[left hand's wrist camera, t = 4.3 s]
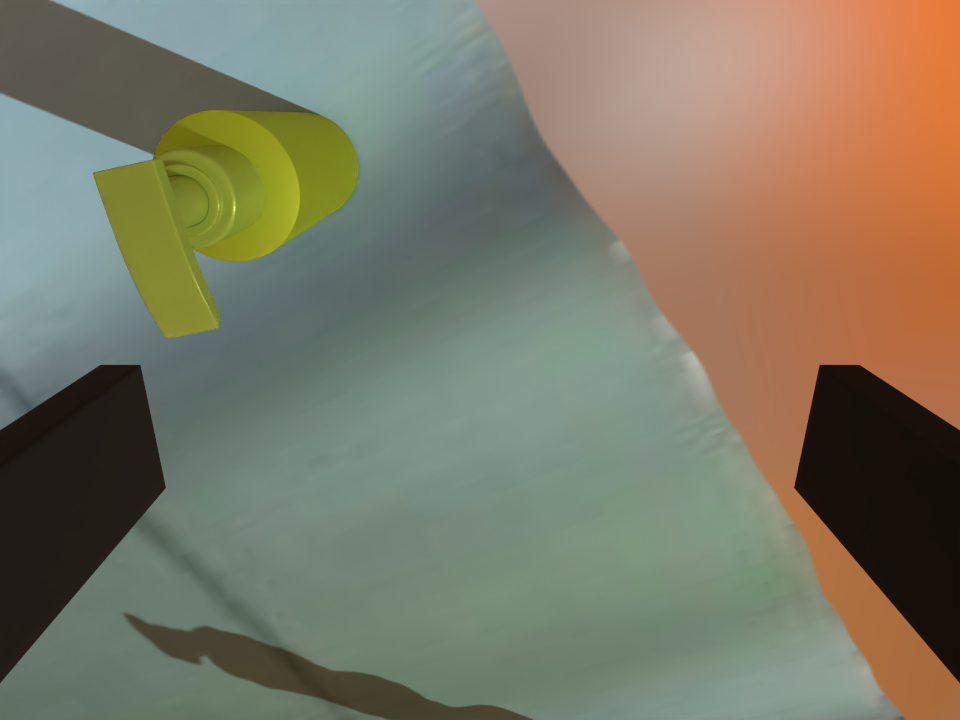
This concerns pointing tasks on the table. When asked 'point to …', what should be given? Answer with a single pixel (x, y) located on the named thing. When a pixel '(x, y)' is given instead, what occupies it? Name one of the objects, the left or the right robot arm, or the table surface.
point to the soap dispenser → (221, 201)
